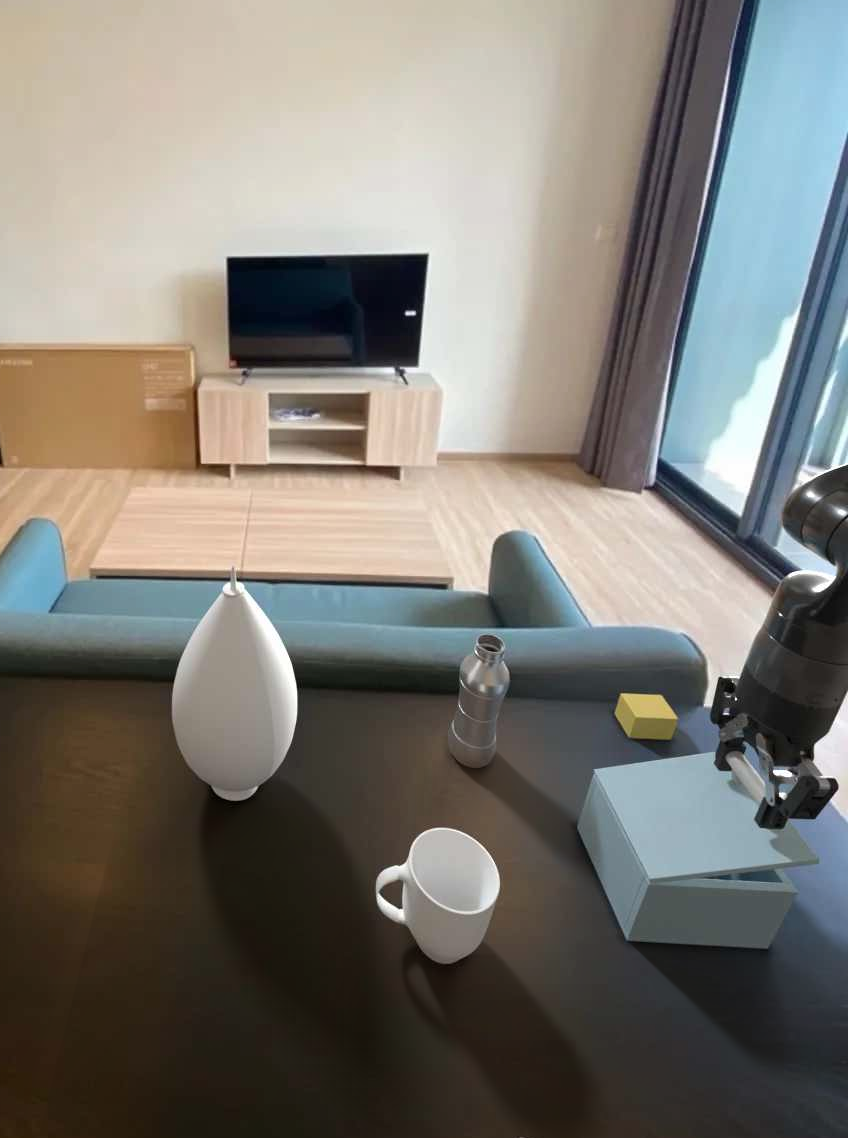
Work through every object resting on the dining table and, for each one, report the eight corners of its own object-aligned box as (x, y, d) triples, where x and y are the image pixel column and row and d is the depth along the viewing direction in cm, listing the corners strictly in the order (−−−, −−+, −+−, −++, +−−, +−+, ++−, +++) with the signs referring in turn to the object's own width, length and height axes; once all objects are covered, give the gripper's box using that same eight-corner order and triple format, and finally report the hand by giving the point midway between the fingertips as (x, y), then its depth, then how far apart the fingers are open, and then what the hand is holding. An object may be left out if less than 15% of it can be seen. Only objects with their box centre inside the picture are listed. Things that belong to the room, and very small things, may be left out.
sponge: (653, 717, 98) (661, 694, 96) (670, 742, 94) (678, 719, 92) (613, 715, 98) (620, 693, 96) (628, 740, 94) (635, 717, 92)
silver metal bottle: (446, 769, 89) (466, 656, 81) (444, 730, 95) (463, 622, 87) (495, 779, 88) (520, 666, 80) (490, 739, 94) (513, 630, 86)
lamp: (287, 846, 79) (297, 617, 65) (162, 826, 81) (146, 601, 68) (298, 740, 93) (308, 534, 80) (192, 726, 96) (184, 523, 82)
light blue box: (696, 835, 81) (719, 780, 77) (766, 951, 69) (798, 892, 65) (576, 829, 81) (593, 774, 77) (625, 943, 70) (648, 884, 66)
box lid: (735, 753, 75) (735, 722, 73) (819, 864, 63) (822, 830, 61) (594, 773, 77) (591, 744, 76) (650, 884, 66) (648, 852, 64)
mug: (472, 901, 73) (488, 830, 69) (490, 992, 65) (510, 919, 61) (368, 889, 75) (377, 818, 70) (374, 978, 66) (384, 905, 62)
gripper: (900, 737, 56) (833, 864, 62) (781, 626, 69) (736, 740, 75) (810, 735, 56) (753, 861, 63) (709, 624, 69) (671, 738, 76)
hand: (744, 795), depth 69 cm, fingers closed on box lid, 6 cm apart
